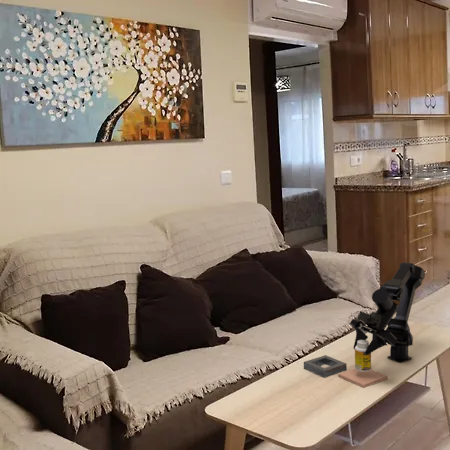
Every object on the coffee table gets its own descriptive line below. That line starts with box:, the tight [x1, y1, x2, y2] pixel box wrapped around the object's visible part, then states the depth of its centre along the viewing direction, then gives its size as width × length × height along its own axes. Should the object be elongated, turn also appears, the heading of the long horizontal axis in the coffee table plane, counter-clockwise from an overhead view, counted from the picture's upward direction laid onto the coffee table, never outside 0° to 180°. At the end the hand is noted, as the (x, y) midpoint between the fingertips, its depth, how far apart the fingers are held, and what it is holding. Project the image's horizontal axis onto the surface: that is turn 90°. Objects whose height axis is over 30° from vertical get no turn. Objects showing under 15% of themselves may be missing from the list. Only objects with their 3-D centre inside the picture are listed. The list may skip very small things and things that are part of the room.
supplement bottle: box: [354, 339, 372, 372], centre depth 208 cm, size 6×6×10 cm
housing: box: [303, 354, 348, 378], centre depth 218 cm, size 11×11×2 cm
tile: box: [337, 368, 389, 388], centre depth 209 cm, size 12×12×1 cm
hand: (359, 351), depth 207 cm, fingers closed on supplement bottle, 5 cm apart
